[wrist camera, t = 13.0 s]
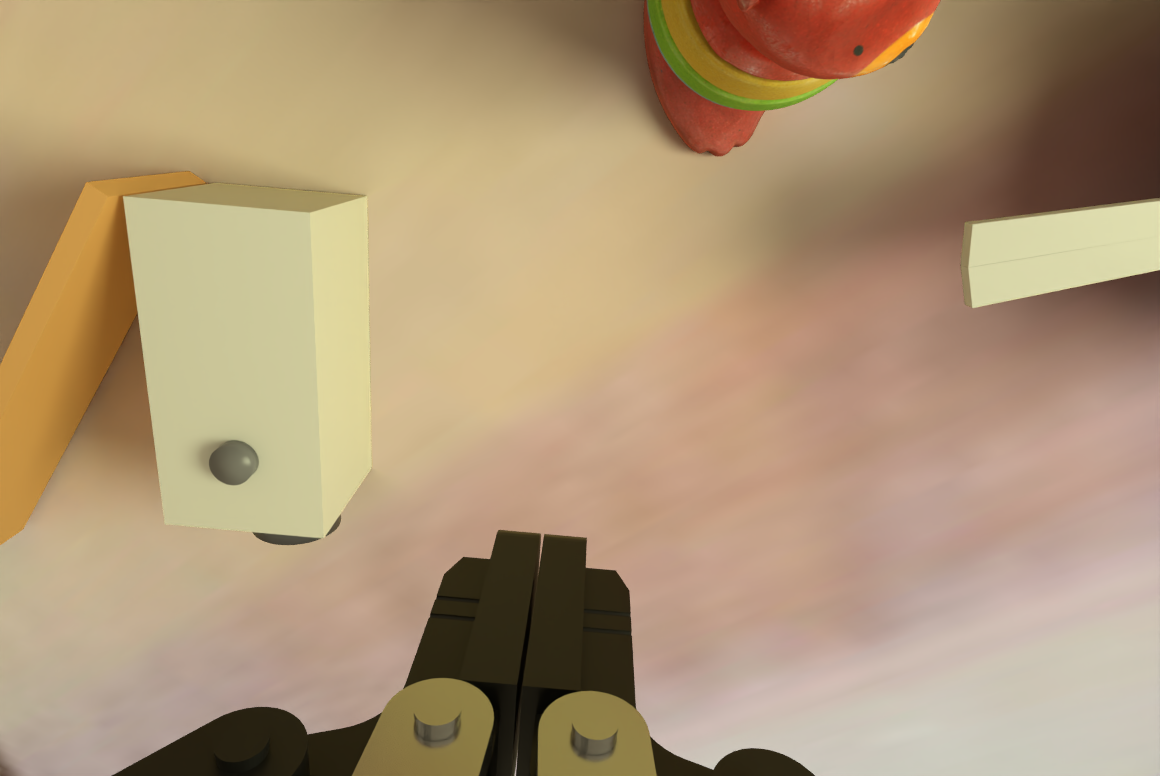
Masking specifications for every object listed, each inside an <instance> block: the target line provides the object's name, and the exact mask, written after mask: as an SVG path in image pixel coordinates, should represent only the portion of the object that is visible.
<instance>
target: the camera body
mask: <svg viewBox="0 0 1160 776" xmlns="http://www.w3.org/2000/svg"><path fill="white" fill-rule="evenodd" d="M123 200H124V208H125V216H126V224H127V232H128V240H129V248H130V255H131V263H132V271H133V279H134V287H135V295H136V303H137V310H138V318H139V326H140V334H141V342H142V350H143V358H144V365H145V373H146V381H147V389H148V397H149V405H150V413H151V420H152V428H153V436H154V444H155V452H156V460H157V468H158V475H159V483H160V491H161V499H162V507H163V515H164V523H165V524H167V525H178V526H189V527H201V528H212V529H223V530H234V531H246V532H253V534H254V535H255V536H256V537H257V538H259V539H260V540H262V541H265V542H268V543H272V544H278V545H297V544H304V543H309V542H312V541H316V540H318V539H321V538H324V537H325V536H327V535H329V534H331V533H332V532H333V531H334V530H336V529H337V527H338V526H339V524H340V522H341V512H342V511H343V509H344V508H345V507H346V505H347V504H348V502H349V501H350V499H351V498H352V496H353V495H354V493H355V492H356V490H357V489H358V487H359V486H360V485H361V483H362V482H363V480H364V479H365V477H366V476H367V474H368V473H369V471H370V470H371V468H372V450H371V390H370V329H369V268H368V207H367V196H363V195H352V194H340V193H329V192H318V191H306V190H295V189H283V188H272V187H261V186H249V185H238V184H226V183H211V184H204V185H197V186H190V187H184V188H177V189H170V190H163V191H156V192H149V193H142V194H136V195H129V196H123Z"/></svg>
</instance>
